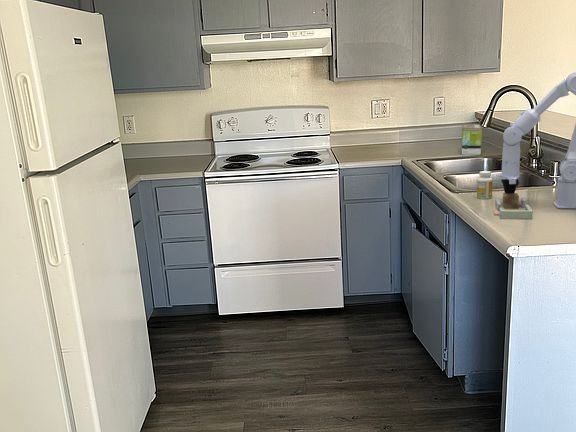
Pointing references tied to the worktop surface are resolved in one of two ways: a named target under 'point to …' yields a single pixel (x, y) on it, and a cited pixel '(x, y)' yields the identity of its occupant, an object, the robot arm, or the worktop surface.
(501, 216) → the channel
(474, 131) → the tea box
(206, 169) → the worktop surface
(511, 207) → the walnut block
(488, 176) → the supplement bottle
